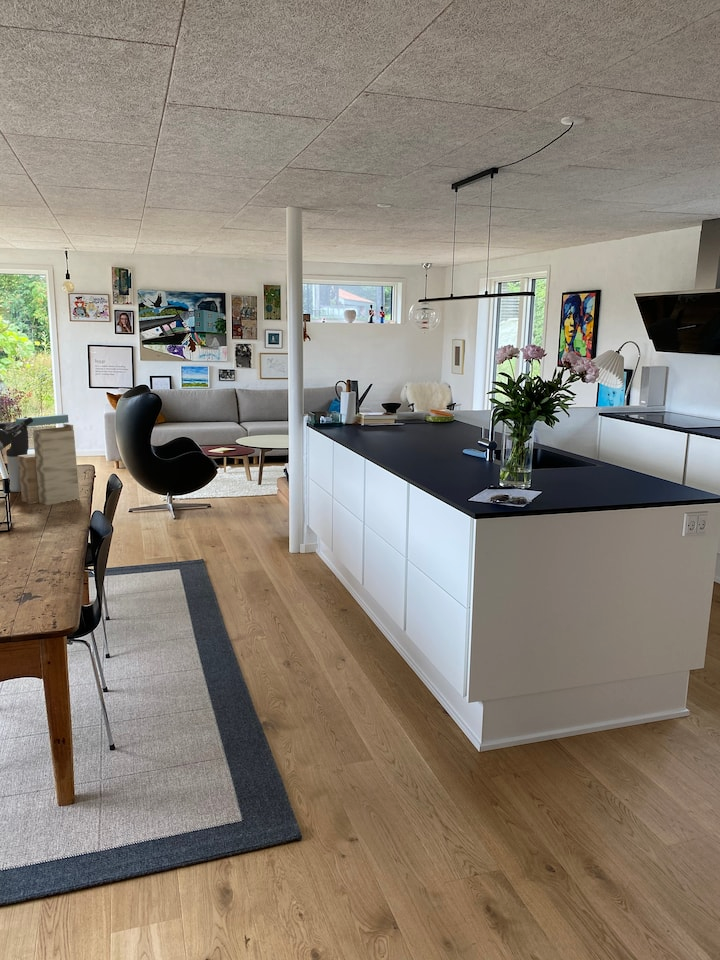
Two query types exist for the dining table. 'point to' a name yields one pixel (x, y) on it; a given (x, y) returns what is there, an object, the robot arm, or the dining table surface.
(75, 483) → the birch stand
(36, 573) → the dining table surface
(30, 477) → the oak step
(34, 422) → the teal block
